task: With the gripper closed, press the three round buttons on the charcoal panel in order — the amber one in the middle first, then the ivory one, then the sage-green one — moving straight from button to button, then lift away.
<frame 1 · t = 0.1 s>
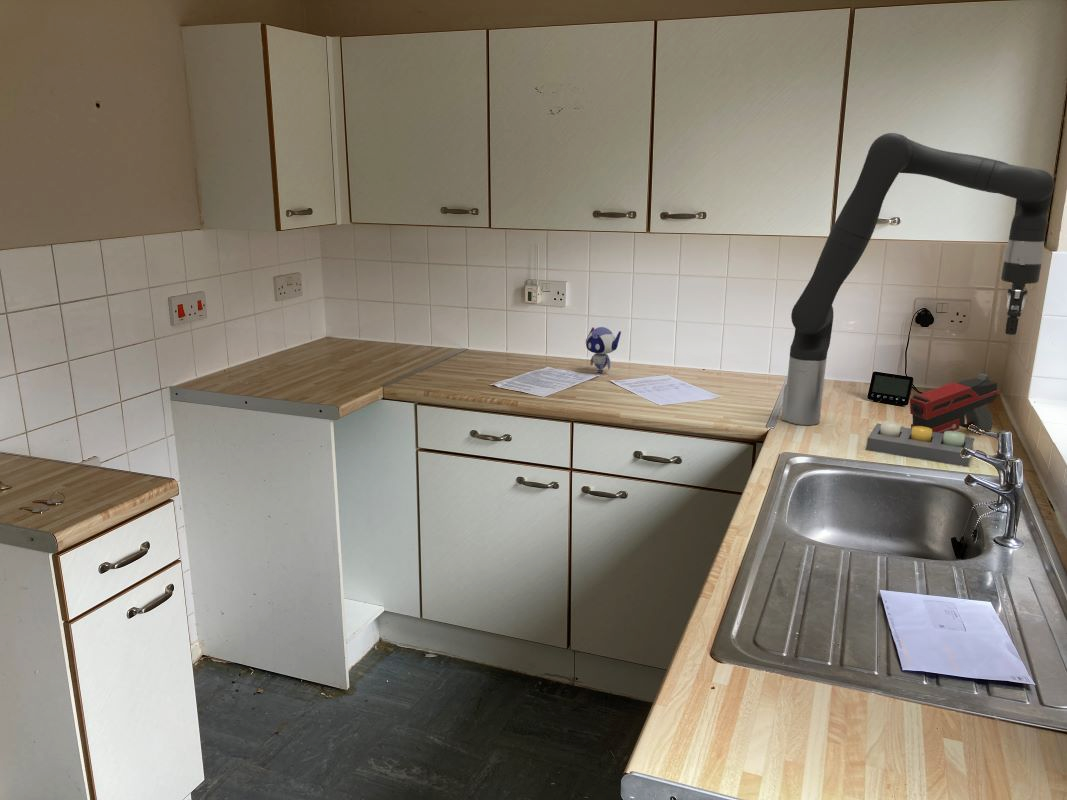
hand: (1010, 331, 196), 29 cm above the worktop, tool pointing down, fingers open, 8 cm apart
panel: (919, 449, 204), on the worktop
button amber: (921, 435, 203), point 4 cm above the worktop, slide at 0.0 cm
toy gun: (948, 435, 217), on the worktop
toy: (600, 373, 273), on the worktop
button sage: (953, 440, 199), point 4 cm above the worktop, slide at 0.0 cm
button ivory: (890, 430, 206), point 4 cm above the worktop, slide at 0.0 cm
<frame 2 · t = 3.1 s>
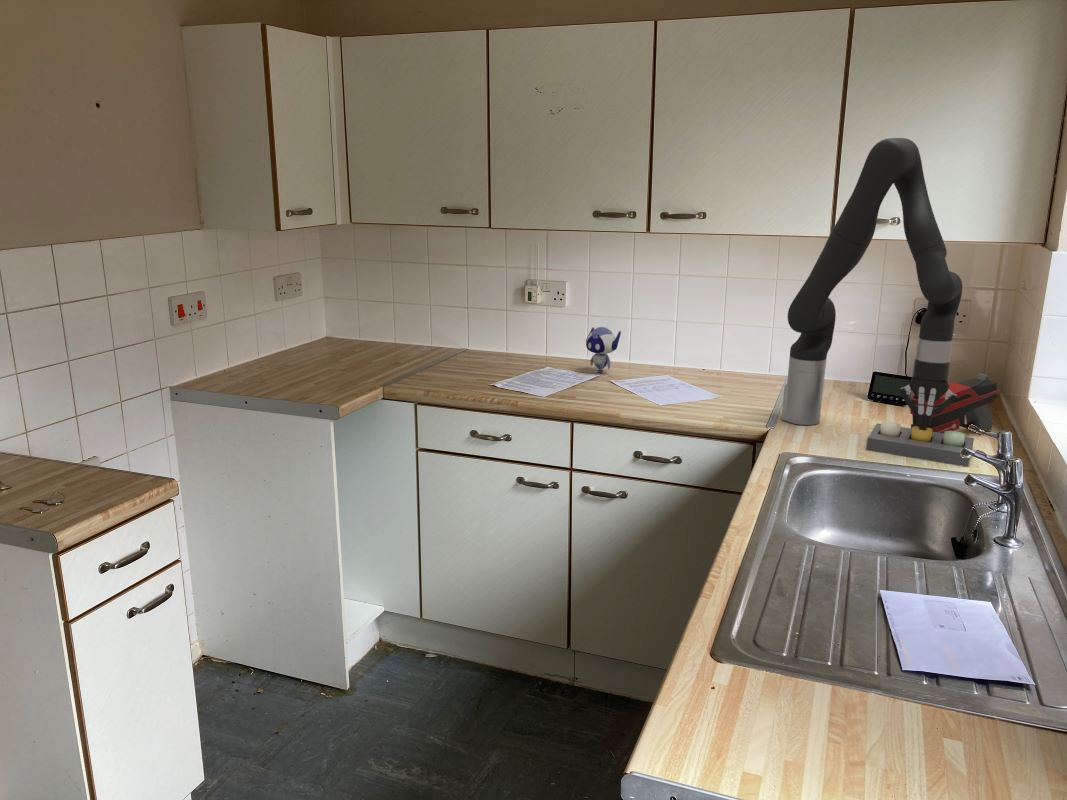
hand: (922, 429, 202), 5 cm above the worktop, tool pointing down, fingers closed
button amber: (921, 435, 203), point 4 cm above the worktop, slide at 0.0 cm, touching gripper
everything else where it was.
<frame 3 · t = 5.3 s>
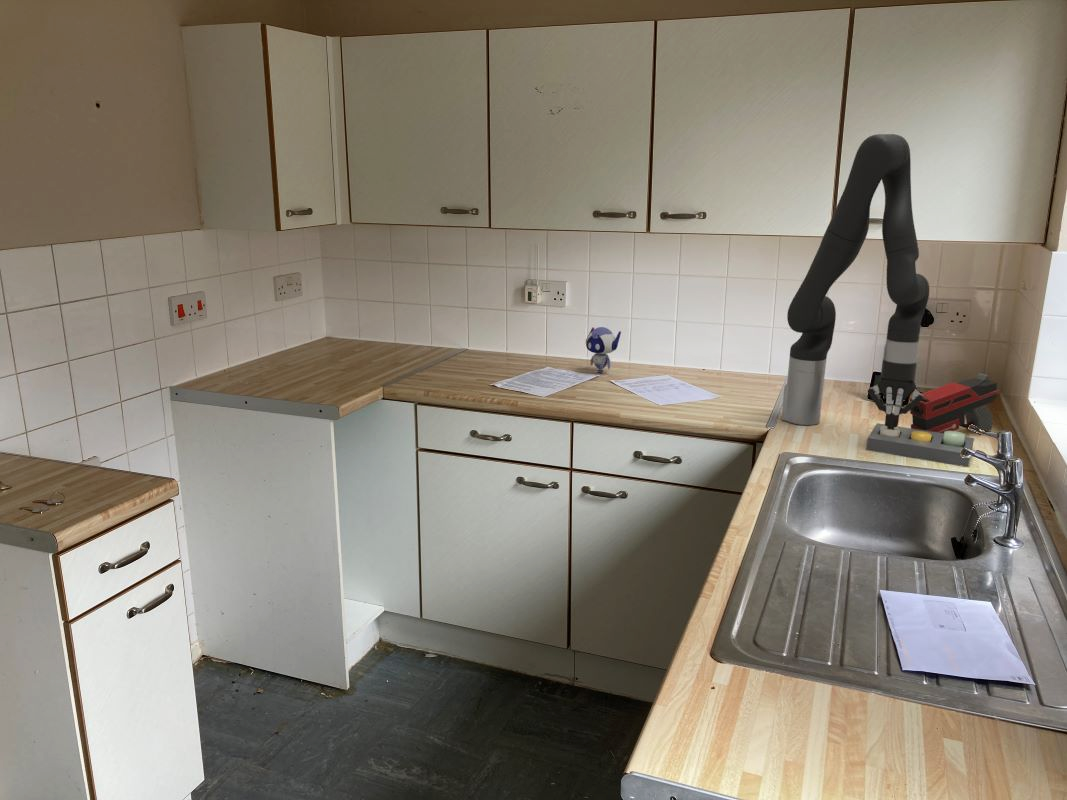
hand: (891, 428, 206), 4 cm above the worktop, tool pointing down, fingers closed
button amber: (920, 440, 203), point 2 cm above the worktop, slide at 1.3 cm
button ivory: (889, 435, 206), point 2 cm above the worktop, slide at 1.1 cm, touching gripper
everything else where it was.
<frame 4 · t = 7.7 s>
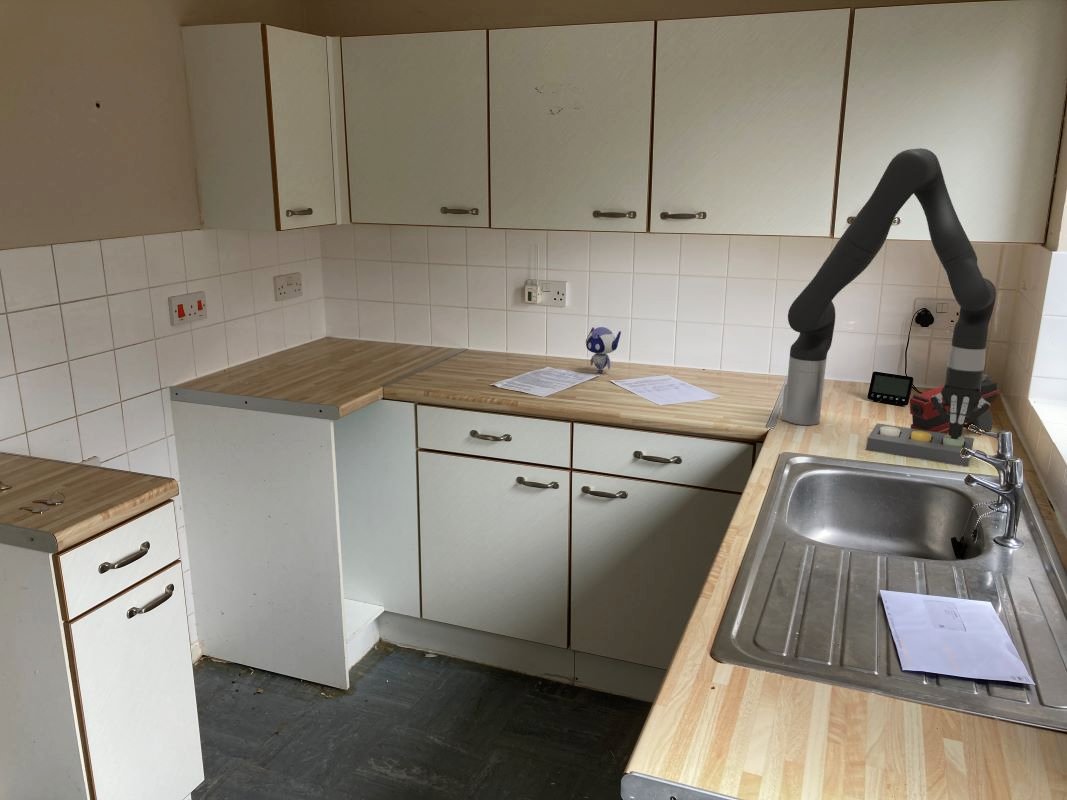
hand: (954, 437, 199), 4 cm above the worktop, tool pointing down, fingers closed
button sage: (952, 444, 200), point 3 cm above the worktop, slide at 1.0 cm, touching gripper
button ivory: (889, 435, 207), point 2 cm above the worktop, slide at 1.3 cm
everything else where it was.
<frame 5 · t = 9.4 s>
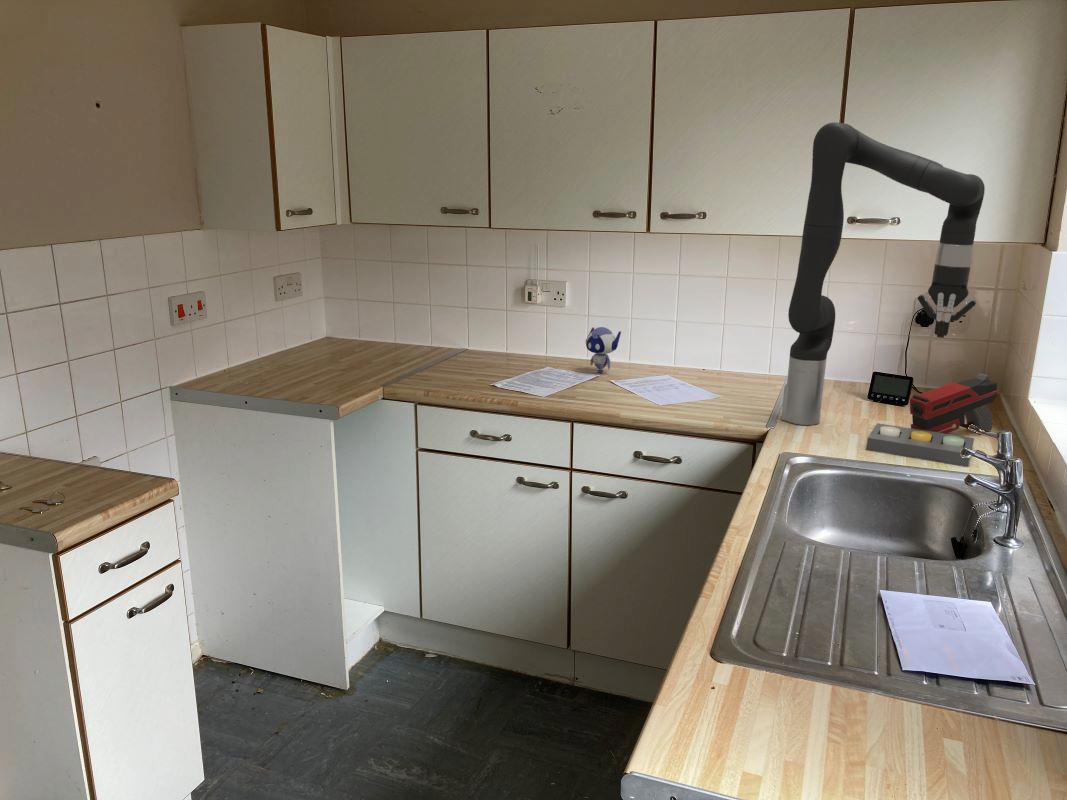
hand: (940, 336, 201), 27 cm above the worktop, tool pointing down, fingers closed
button sage: (952, 445, 200), point 2 cm above the worktop, slide at 1.2 cm
everything else where it was.
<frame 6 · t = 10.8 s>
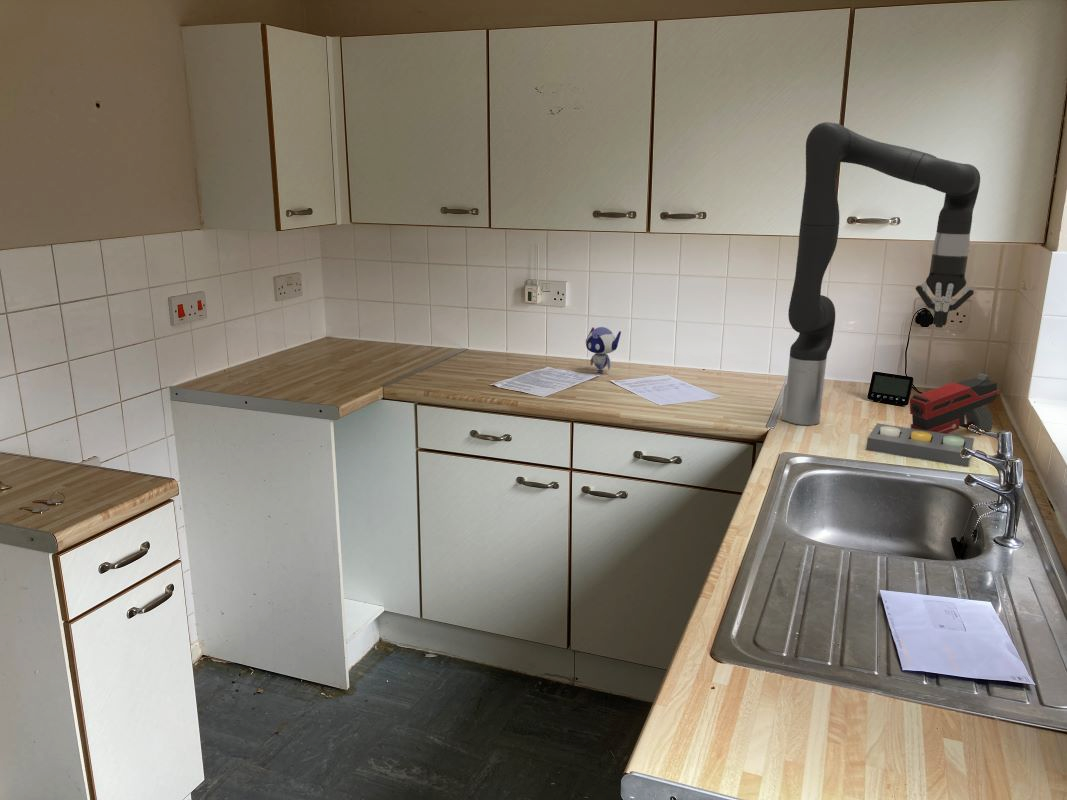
hand: (939, 326, 201), 29 cm above the worktop, tool pointing down, fingers closed
nothing on the worktop moved.
at the end: button amber slide at 1.3 cm; button ivory slide at 1.3 cm; button sage slide at 1.2 cm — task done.
